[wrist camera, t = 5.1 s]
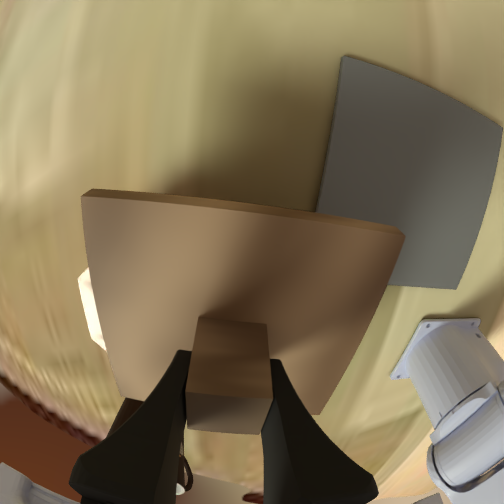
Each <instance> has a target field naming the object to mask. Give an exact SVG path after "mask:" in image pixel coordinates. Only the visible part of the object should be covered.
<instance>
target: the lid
mask: <svg viewBox="0 0 504 504" xmlns="http://www.w3.org/2000/svg"><path fill="white" fill-rule="evenodd" d="M81 205H82V218H83V228H84V237H85V246H86V253H87V260H88V267H89V273H90V279H91V285H92V290H93V295H94V300H95V305H96V310H97V314H98V319H99V323H100V327H101V331H102V335H103V339H104V343H105V347H106V350H107V354H108V357H109V361H110V364H111V368H112V371H113V374H114V377H115V380H116V383H117V386H118V389H119V392H120V395H121V396H122V397H127V398H131V399H136V400H141V401H145V400H146V399H147V397H148V396H149V395H150V393H151V392H152V391H153V389H154V388H155V387H156V385H157V384H158V383H159V381H160V380H161V378H162V377H163V375H164V374H165V372H166V370H167V369H168V367H169V365H170V364H171V362H172V360H173V358H174V356H175V354H176V352H177V350H179V349H180V350H188V351H192V355H191V360H190V366H189V372H188V378H187V384H186V390H185V394H186V413H187V428H188V429H193V430H201V431H211V432H221V433H235V434H255V435H259V434H260V431H261V429H262V426H263V424H264V421H265V419H266V416H267V414H268V411H269V408H270V406H271V403H272V401H273V391H272V379H271V368H270V359H280V360H281V362H282V364H283V366H284V369H285V371H286V373H287V375H288V377H289V379H290V381H291V383H292V385H293V387H294V389H295V391H296V393H297V394H298V396H299V398H300V399H301V401H302V403H303V404H304V406H305V407H306V409H307V410H308V412H309V413H310V415H320V413H321V411H322V410H323V408H324V407H325V405H326V403H327V402H328V400H329V398H330V397H331V395H332V393H333V392H334V390H335V388H336V387H337V385H338V383H339V381H340V380H341V378H342V376H343V374H344V373H345V371H346V369H347V367H348V365H349V364H350V362H351V360H352V358H353V356H354V354H355V352H356V350H357V348H358V347H359V345H360V343H361V341H362V339H363V337H364V335H365V333H366V331H367V328H368V326H369V324H370V322H371V320H372V318H373V316H374V314H375V312H376V309H377V307H378V305H379V303H380V300H381V298H382V296H383V294H384V291H385V289H386V287H387V284H388V282H389V279H390V277H391V274H392V272H393V269H394V267H395V264H396V262H397V259H398V257H399V254H400V251H401V249H402V246H403V243H404V240H405V237H406V236H405V235H404V234H403V233H402V232H401V231H400V230H399V229H398V228H397V227H395V226H390V225H385V224H380V223H374V222H369V221H363V220H357V219H351V218H346V217H340V216H334V215H327V214H321V213H315V212H308V211H302V210H295V209H288V208H281V207H274V206H266V205H259V204H251V203H243V202H235V201H226V200H218V199H209V198H200V197H190V196H180V195H169V194H158V193H147V192H134V191H121V190H106V189H91V190H90V191H88V192H86V193H85V194H83V195H82V196H81Z"/></svg>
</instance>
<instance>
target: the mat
mask: <svg viewBox="0 0 504 504" xmlns="http://www.w3.org/2000/svg"><path fill="white" fill-rule="evenodd" d="M502 132H503V128H502V127H501V126H499V125H498V124H496V123H495V122H493V121H492V120H490V119H488V118H487V117H485V116H483V115H482V114H480V113H478V112H477V111H475V110H473V109H472V108H470V107H468V106H466V105H464V104H463V103H461V102H459V101H457V100H455V99H453V98H451V97H449V96H447V95H445V94H443V93H441V92H439V91H437V90H435V89H433V88H431V87H429V86H426V85H424V84H422V83H420V82H417V81H415V80H413V79H410V78H408V77H405V76H403V75H400V74H398V73H395V72H392V71H390V70H387V69H384V68H382V67H379V66H376V65H373V64H370V63H367V62H364V61H360V60H357V59H354V58H350V57H347V56H343V57H341V65H340V72H339V80H338V87H337V94H336V100H335V107H334V113H333V119H332V126H331V132H330V137H329V143H328V149H327V154H326V160H325V165H324V171H323V176H322V181H321V186H320V191H319V196H318V201H317V206H316V211H315V213H321V214H327V215H334V216H340V217H346V218H351V219H357V220H363V221H369V222H374V223H380V224H385V225H390V226H395V227H397V228H398V229H399V230H400V231H401V232H402V233H403V234H404V235H405V236H406V237H405V240H404V243H403V246H402V249H401V251H400V254H399V257H398V259H397V262H396V264H395V267H394V269H393V272H392V274H391V277H390V279H389V282H388V284H387V285H398V286H412V287H425V288H440V289H455V290H456V289H457V287H458V285H459V282H460V280H461V278H462V275H463V273H464V271H465V268H466V266H467V263H468V261H469V258H470V255H471V253H472V250H473V247H474V245H475V242H476V239H477V236H478V233H479V230H480V227H481V224H482V221H483V218H484V214H485V211H486V208H487V204H488V200H489V197H490V193H491V189H492V185H493V181H494V176H495V172H496V167H497V162H498V157H499V151H500V146H501V139H502Z"/></svg>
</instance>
